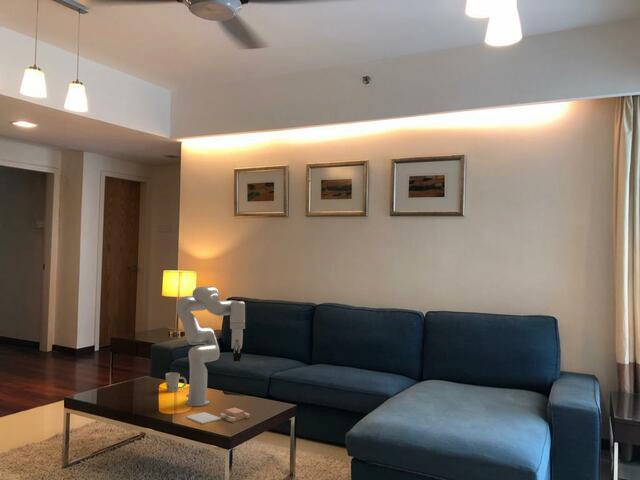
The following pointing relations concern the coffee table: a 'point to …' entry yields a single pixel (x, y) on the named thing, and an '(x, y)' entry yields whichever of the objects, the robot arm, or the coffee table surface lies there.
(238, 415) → the block
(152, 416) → the coffee table surface
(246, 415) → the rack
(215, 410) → the coffee table surface
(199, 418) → the mat
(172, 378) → the mug
